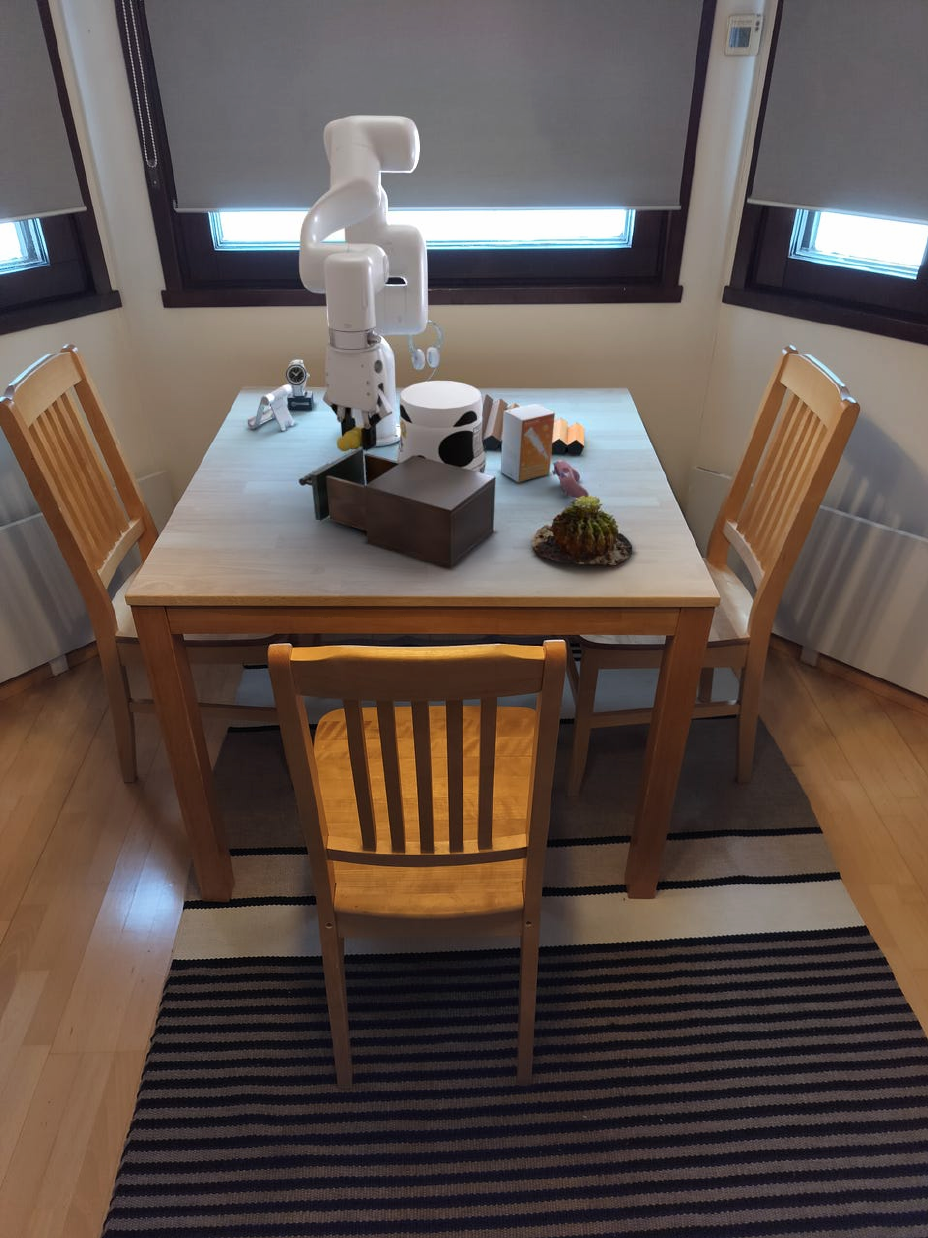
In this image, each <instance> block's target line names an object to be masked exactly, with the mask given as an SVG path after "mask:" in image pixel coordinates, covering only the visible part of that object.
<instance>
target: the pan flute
mask: <svg viewBox="0 0 928 1238" xmlns="http://www.w3.org/2000/svg"><path fill="white" fill-rule="evenodd" d="M481 397H482V406H483V410H482V443H483V446H484V449H485V450H486V451H497V450H498V447H499V445H500V446H501V448H502V436H503V415H504V411H505V410H510V409H514V408H517V407H521V406H519V405H518V404H517V403H516V402H514V403H512V404H511V405H509V404H508V403H507V402H506V401H505V400H503V399H502V398H501V397H500V398H498V399H497V400H495V399H494V398H493V397H491V396H490V395H489V394H487V393H485V394H484V395H481ZM584 448H585V427H583V426H582V425H581V424H580V423H578V422H577V421H576V422H575V423H573V424H571V425H569V422H568V421H566V420H565V419H563V418H562V417H561V416H559V418H557V419H554V428H553V440H552V451H551V453H552V455H553V454H554V455H564V454H565V451H566V449H568V454H569V456H581V455H582V452H583V450H584Z"/></svg>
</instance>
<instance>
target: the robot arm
mask: <svg viewBox="0 0 928 1238" xmlns="http://www.w3.org/2000/svg"><path fill="white" fill-rule="evenodd" d="M323 145H324V150H325V154H326V157H327V161H328V164H329V166H330V170H329V171H330V174H329V190H328V191H326V192H325V193H324V194H323V195H322V196H320V198H318V200H317V201H315V203H314V204H313V205H312V206H311V208H310V209H309V211H307V213H306V215H305V217H304V219H303V222H302V223H301V228H300V234H299V235H300V236H299V251H298V252H299V253H298V264H299V265H298V271H299V277H300V281H301V283H302V285H303V287H304V288H305V289H307V291H309V292H311V293H314V294H325V301H326V315H327V326H328V338H329V343H328V344H327V346H326V353H325V354H326V355H325V373H324V375H325V388H326V389H325V390H326V391H325V393H324V395H323V397H322V401H323V402H324V403H325V404H326V405H327V406H328V407H329V408H331V410H332V411H333V413H334V414H335V416H336V420H337V422H338V423H340V429H341V430H340V432H341V437H342V436H344V435H345V433H346V432H348V431H350V430H352V429H353V428H355V427H357V426H359V425H362V424H364V428H362V429H361V433H362V446H361V448H362V449H363V451H367V452H368V451H369V450H371V449H372V448H374V447H384V446H388V445H393V444H396V443H398V442H400V424H399V423H397V422H398V421H397V394H396V392H397V391H396V366H395V365H396V363H395V362H396V361H395V355H394V354H395V353H394V352H393V350H392V347H391V346H390V345H389V344H388V342H387V341H386V340H385V339H384V338H383V336H396V335H397V336H402V335H403V336H409V335H413V334H414V335H419V334H421V333H424V331H425V330H426V328H427V325H428V323H427V321H429V293H428V291H429V289H428V287H429V285H428V283H429V281H428V250H427V243H426V239H425V235H424V233H423V231H422V230H421V228H419V227H418V226H416V225H412V224H393V223H392V224H391V223H389V218H388V217H389V215H388V213H389V211H388V196H387V194H386V193H387V192H386V191H385V190H384V188H383V186H382V184H381V174H382V173H407V174H408V173H409V174H410V173H412V172H413V171H414V170H415V169H416V168H417V165H418V162H419V158H420V150H421V149H420V148H421V147H420V137H419V130H418V128H417V125H416V123H415V122H414V120H412V118H409V117H407V116H401V115H361V114H360V115H350V116H346V117H343V118H338V119H334V120H332V121H330V122H328V123H327V124H326V125H325V127H324V130H323ZM343 229H344V242H324V240H326V239H327V238H328V237H329V236H331V235H332V234H334V233H337V232H338V231H341V230H343ZM389 278H401V279H403V280H404V282H405V284H387V283H388V281H389ZM414 335H413V336H414Z"/></svg>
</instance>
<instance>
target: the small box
mask: <svg viewBox="0 0 928 1238" xmlns="http://www.w3.org/2000/svg"><path fill="white" fill-rule="evenodd" d="M554 421H555V412H554V411H552V410H550V409H548V408H547V407H544V406H542V405H541V404H538V403H532V404H527V405H522V406H520V407H517V408H514V409H510V410H505V411H504V415H503V436H502V447H501V457H500V458H501V460H500V472H501V473H502V474H503V475H505V476H507V477H508V478H509V479H510V478H511V479H512V480H513V481H515V482H516V483H522V482H524V481H528V480H532V479H535V478H539V477H543V476H548V475H550V473H551V472H550V471H551V463H552V440H553V428H554Z"/></svg>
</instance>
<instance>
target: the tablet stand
mask: <svg viewBox="0 0 928 1238" xmlns="http://www.w3.org/2000/svg"><path fill="white" fill-rule="evenodd" d="M290 393H292V387H291V386H290V385H289V383H286V384H284V385H281V386H280V387H278V388H276V389H274V390H272V391H270V392H268V393H267V394H264V395H263V396H261V398H260V402H259V405H258V409H257V412H256V414H254V415H253V416H251V417H249V418H247V426H248V428H249V429H251V430H254V429H257V428H259V426H261V425H263V424H264V423H267V422H269V421H270V420H273V419H275V421H276V422H277V424H278V427H279V428H280V430H281V432H284V431H286V430H287V428H286V426H285V424H286V423H288V425H289V427H293V426H294V425H295V422H294V420H293V418H292V414H291V413H290V411H289V410H288V405H287V404H286V401H285V399H284V398H285V397H287V396H288V394H290ZM267 406H269V407H267ZM266 407H267V408H266Z"/></svg>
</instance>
